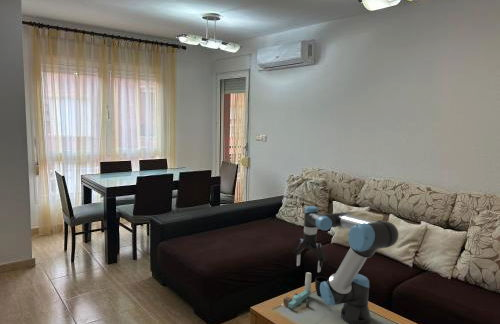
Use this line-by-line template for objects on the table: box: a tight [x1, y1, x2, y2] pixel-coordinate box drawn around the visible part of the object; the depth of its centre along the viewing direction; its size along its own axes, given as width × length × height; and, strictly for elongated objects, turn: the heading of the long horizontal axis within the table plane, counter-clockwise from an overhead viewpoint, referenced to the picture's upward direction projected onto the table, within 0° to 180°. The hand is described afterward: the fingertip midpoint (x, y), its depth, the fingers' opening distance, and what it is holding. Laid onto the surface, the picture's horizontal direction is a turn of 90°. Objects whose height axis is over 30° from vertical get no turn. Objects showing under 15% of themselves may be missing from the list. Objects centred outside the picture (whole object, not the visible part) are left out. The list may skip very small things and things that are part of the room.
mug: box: [314, 276, 329, 298], centre depth 216 cm, size 8×12×10 cm
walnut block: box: [282, 296, 293, 309], centre depth 200 cm, size 4×4×4 cm
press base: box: [280, 292, 313, 314], centre depth 201 cm, size 14×11×5 cm
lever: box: [288, 272, 312, 310], centre depth 203 cm, size 5×21×13 cm, turn 143°
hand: (308, 268), depth 210 cm, fingers open, 13 cm apart
